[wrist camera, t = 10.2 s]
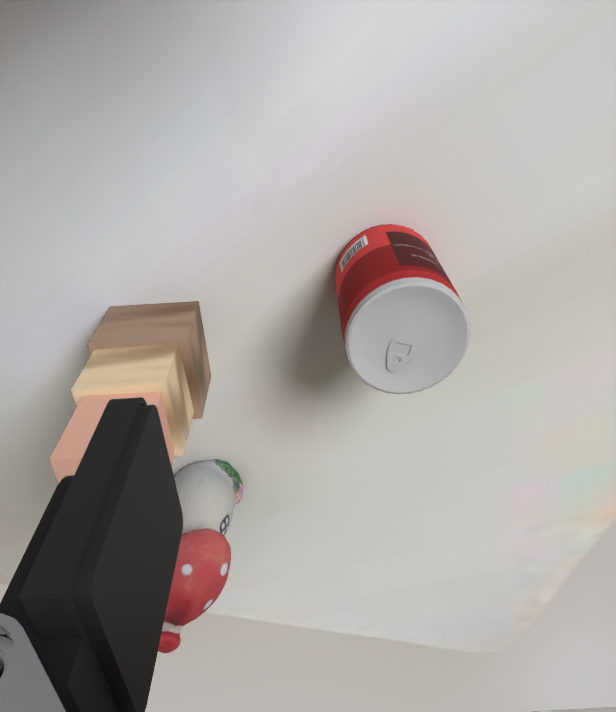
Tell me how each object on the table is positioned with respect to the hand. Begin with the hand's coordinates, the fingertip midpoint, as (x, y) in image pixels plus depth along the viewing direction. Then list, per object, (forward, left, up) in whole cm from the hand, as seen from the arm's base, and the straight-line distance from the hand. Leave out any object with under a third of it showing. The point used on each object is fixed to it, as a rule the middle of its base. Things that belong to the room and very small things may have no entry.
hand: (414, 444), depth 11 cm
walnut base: (+16, -14, -33) cm, 40 cm away
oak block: (+16, -14, -27) cm, 35 cm away
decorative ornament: (+32, -13, -34) cm, 48 cm away
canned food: (+11, +4, -34) cm, 35 cm away
